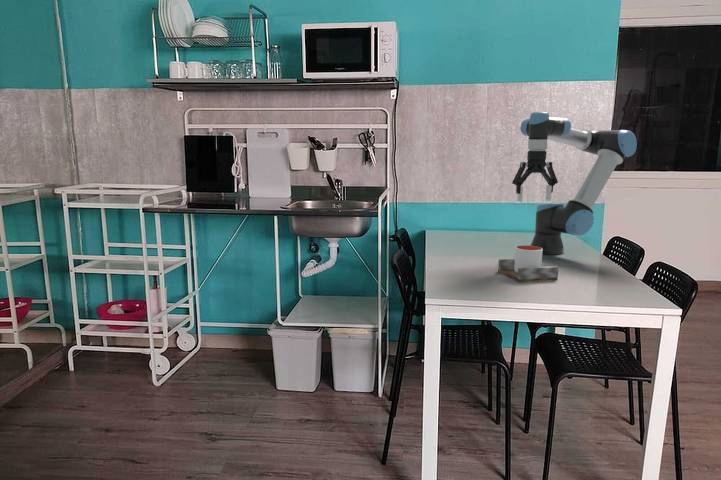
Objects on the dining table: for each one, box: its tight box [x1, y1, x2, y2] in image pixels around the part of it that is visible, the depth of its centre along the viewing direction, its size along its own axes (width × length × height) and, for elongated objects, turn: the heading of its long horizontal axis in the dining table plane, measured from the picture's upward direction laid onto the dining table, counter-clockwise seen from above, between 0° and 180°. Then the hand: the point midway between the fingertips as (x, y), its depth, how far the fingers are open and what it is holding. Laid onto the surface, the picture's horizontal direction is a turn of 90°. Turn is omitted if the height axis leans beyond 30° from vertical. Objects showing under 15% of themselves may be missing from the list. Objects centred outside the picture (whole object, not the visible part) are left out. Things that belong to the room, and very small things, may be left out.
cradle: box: [497, 258, 559, 283], centre depth 208 cm, size 16×16×5 cm
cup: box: [514, 245, 543, 273], centre depth 207 cm, size 10×10×10 cm
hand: (533, 201), depth 227 cm, fingers open, 13 cm apart
